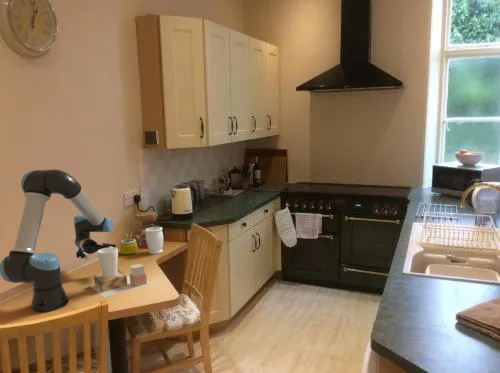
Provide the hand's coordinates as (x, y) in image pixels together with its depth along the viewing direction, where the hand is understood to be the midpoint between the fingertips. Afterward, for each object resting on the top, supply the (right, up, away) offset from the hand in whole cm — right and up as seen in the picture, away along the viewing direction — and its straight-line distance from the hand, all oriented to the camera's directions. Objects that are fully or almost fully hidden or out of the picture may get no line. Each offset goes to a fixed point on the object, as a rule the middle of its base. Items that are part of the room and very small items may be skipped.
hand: (101, 254), depth 219 cm
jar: (+16, -7, +51) cm, 54 cm away
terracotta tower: (+20, -14, -6) cm, 25 cm away
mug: (0, -7, +54) cm, 54 cm away
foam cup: (+7, -10, -7) cm, 14 cm away
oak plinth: (+7, -14, -6) cm, 17 cm away
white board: (+12, -16, -5) cm, 20 cm away
